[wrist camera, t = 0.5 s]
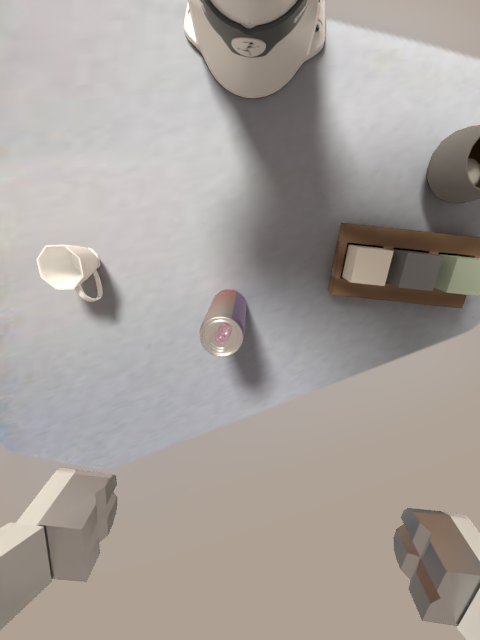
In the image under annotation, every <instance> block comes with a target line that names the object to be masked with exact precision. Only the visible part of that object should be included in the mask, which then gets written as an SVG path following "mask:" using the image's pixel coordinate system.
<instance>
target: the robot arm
mask: <svg viewBox="0 0 480 640" xmlns="http://www.w3.org/2000/svg"><path fill="white" fill-rule="evenodd" d="M316 27H317V28H318V32H315V29H316ZM184 31H185V35H186V37H187V38H188V40H189V41H190V42H191V43H192V44H193V45H194V46H195V47H196V48H197V49H198V50H199V51H200V52H201V53H202V55H203V57H204V59H205V61H206V63H207V65H208V68H209V69H210V71H211V73H212V74H213V76H214V77H215V79H216V80H217V81H218V82H219V83H220V84H221V85H222V86H223V87H224V88H225V89H227V90H228V91H230V92H232V93H233V94H236V95H238V96H241V97H246V98H260V97H264V96H268V95H270V94H272V93H275V92H276V91H278V90H279V89H281V88H282V87H283V86H285V85H286V84H287V83H288V82H289V81H290V80H291V78H292V77H293V76H294V75H295V73H296V72H297V70H298V69H299V68H300V66H301V65H302V64H303V63H304V62H305V61H307V60H308V59H310V58H312V57H313V56H315V55H316V54H317V53H318V52H320V51H321V49H322V48H323V46H324V41H325V0H188V3H187V8H186V13H185V18H184ZM116 485H117V482H116V476H115V475H111V474H104V473H97V472H91V471H83V470H75V469H68V468H60V469H59V470H57V471H56V472H55V473H54V474H53V475H52V477H51V478H50V479H49V481H48V482H47V483H46V484H45V486H44V487H43V488H42V489H41V491H40V492H39V493H38V495H37V496H36V497H35V498H34V500H33V501H32V502H31V504H30V505H29V506H28V508H27V509H26V510H25V511H24V513H23V514H22V515H21V517H20V518H19V519H18V520H17V522H16V523H8V524H7V525H5V526H3V527H2V528H0V630H1V629H2V628H3V627H4V626H5V625H6V624H7V623H9V621H11V620H12V619H13V618H14V617H15V616H16V615H17V614H18V613H19V612H20V611H21V610H22V609H23V608H24V607H25V606H26V605H27V604H28V603H30V602H31V601H32V600H33V599H34V598H35V597H36V596H37V595H38V594H39V593H40V592H41V591H42V590H43V589H44V588H45V587H47V586H48V585H49V584H50V583H51V582H52V579H58V580H71V581H83V582H87V580H88V578H89V575H90V574H91V571H92V569H93V567H94V565H95V563H96V560H97V558H98V556H99V554H100V549H99V542H100V541H102V540H103V539H104V538H105V537H106V536H108V534H109V532H110V529H111V527H112V525H113V521H114V517H115V514H116V510H117V496H116V495H115V494H114V492H113V491H114V489H115V487H116ZM401 518H402V520H403V523H404V524H403V525H402V526H400V527H399V528H397V529H396V532H395V535H394V551H395V555H396V559H397V562H398V564H399V567H400V569H401V570H402V571H403V572H404V573H405V574H406V575H407V576H408V578H409V579H410V585H409V591H410V593H411V595H412V598H413V600H414V603H415V605H416V607H417V610H418V612H419V614H420V617H421V619H422V621H428V622H434V623H441V624H448V625H454V626H458V627H457V629H458V630H459V631H460V632H461V633H462V634H463V636H464V637H465V638H466V639H467V640H480V533H479V532H478V530H477V529H476V528H475V526H474V525H473V524H472V522H471V521H470V519H469V518H467V517H466V516H465V515H464V514H457V513H448V512H441V511H431V510H422V509H412V508H407V509H406V510H404V511H403V514H402V516H401Z"/></svg>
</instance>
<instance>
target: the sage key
mask: <svg viewBox="0 0 480 640" xmlns="http://www.w3.org/2000/svg"><path fill="white" fill-rule="evenodd" d="M439 256H444V257H443V260H442V263H441V266H440V270H439V273H438V276H437V279H436V282H435V285H434V288H436V289H439V290H441V291H444V292H446V293H455V294H464V295H474V296H480V259H477V258H472V257H462V256H453V255H443V254H439Z"/></svg>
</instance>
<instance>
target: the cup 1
mask: <svg viewBox="0 0 480 640" xmlns="http://www.w3.org/2000/svg"><path fill="white" fill-rule="evenodd" d="M36 260H37V264H38V268H39V272H40V276H41V278H42V279H43V280H45V281H46V282H47V283H48V284H50V285H51V286H52V287H53V288H55V289H56V290H71V289H75V290H76V291H77V293H78V294H79V296H80V297H81V298H82V299H84V300H86V301H88V302H94V301H96V300H99V299H101V297H102V292H103V290H102V285H101V280H100V277H99V274H98V272H97V269H98V268H99V266H100V265H101V264H100V258H99V255H98V254H97V253H96V252H95V251H94V250H93V249H91V248H85V247H82V246H72V245H46V246H45V247H44V249H43V250H42V252H41V253H40V255H39V256H38V258H37V259H36ZM92 273H93V275H94V277H95V281H96V285H97V293H98V296H97V298H91V297H89V296H87V295H86V294H85V293H84V291H83V289H82V287H81V283H83V282H84V281H85V280H87V279H88V278H89V277H90V276H91V274H92Z"/></svg>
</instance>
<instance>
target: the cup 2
mask: <svg viewBox="0 0 480 640" xmlns="http://www.w3.org/2000/svg"><path fill="white" fill-rule="evenodd" d="M427 180H428V183H429V186H430V189H431V190H432V191H433V192H434V193H435V195H436V196H437V197H438V198H440V199H442V200H444V201H447V202H449V203H465V202H468V201H471V200H474V199H477V198H480V125H478V126H471V127H467V128H464V129H462V130H459V131H456V132H454V133H453V134H451V135H450V136H449V137H447V138H446V139H445V140H443V141H442V142H441V144H440V145H439V146H438V148H437V149H436V150H435V152H434V153H433V155H432V157H431V160H430V163H429V165H428V168H427Z"/></svg>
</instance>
